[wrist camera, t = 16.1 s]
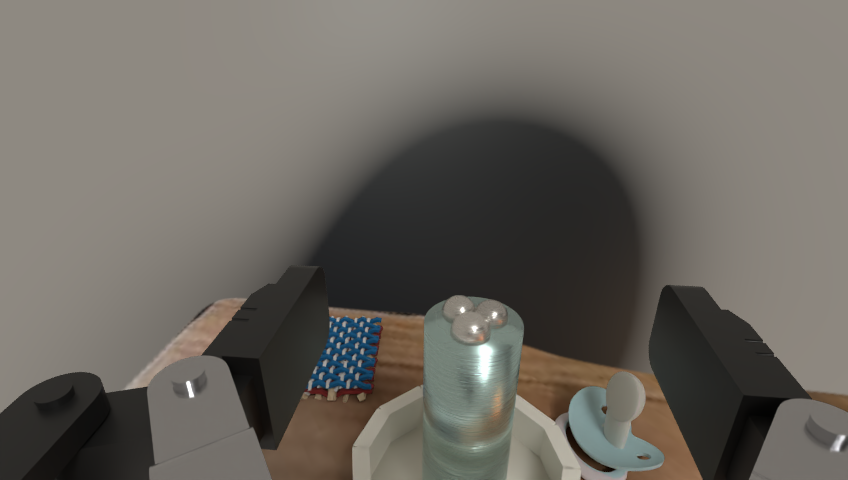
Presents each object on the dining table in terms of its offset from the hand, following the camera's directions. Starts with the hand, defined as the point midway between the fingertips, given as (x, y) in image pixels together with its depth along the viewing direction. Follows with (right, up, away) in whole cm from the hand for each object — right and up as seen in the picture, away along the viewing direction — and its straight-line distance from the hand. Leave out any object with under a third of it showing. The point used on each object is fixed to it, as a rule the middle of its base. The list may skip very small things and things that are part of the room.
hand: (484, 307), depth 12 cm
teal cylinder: (+1, -13, +18) cm, 22 cm away
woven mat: (-11, -9, +31) cm, 34 cm away
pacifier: (+11, -13, +22) cm, 28 cm away
